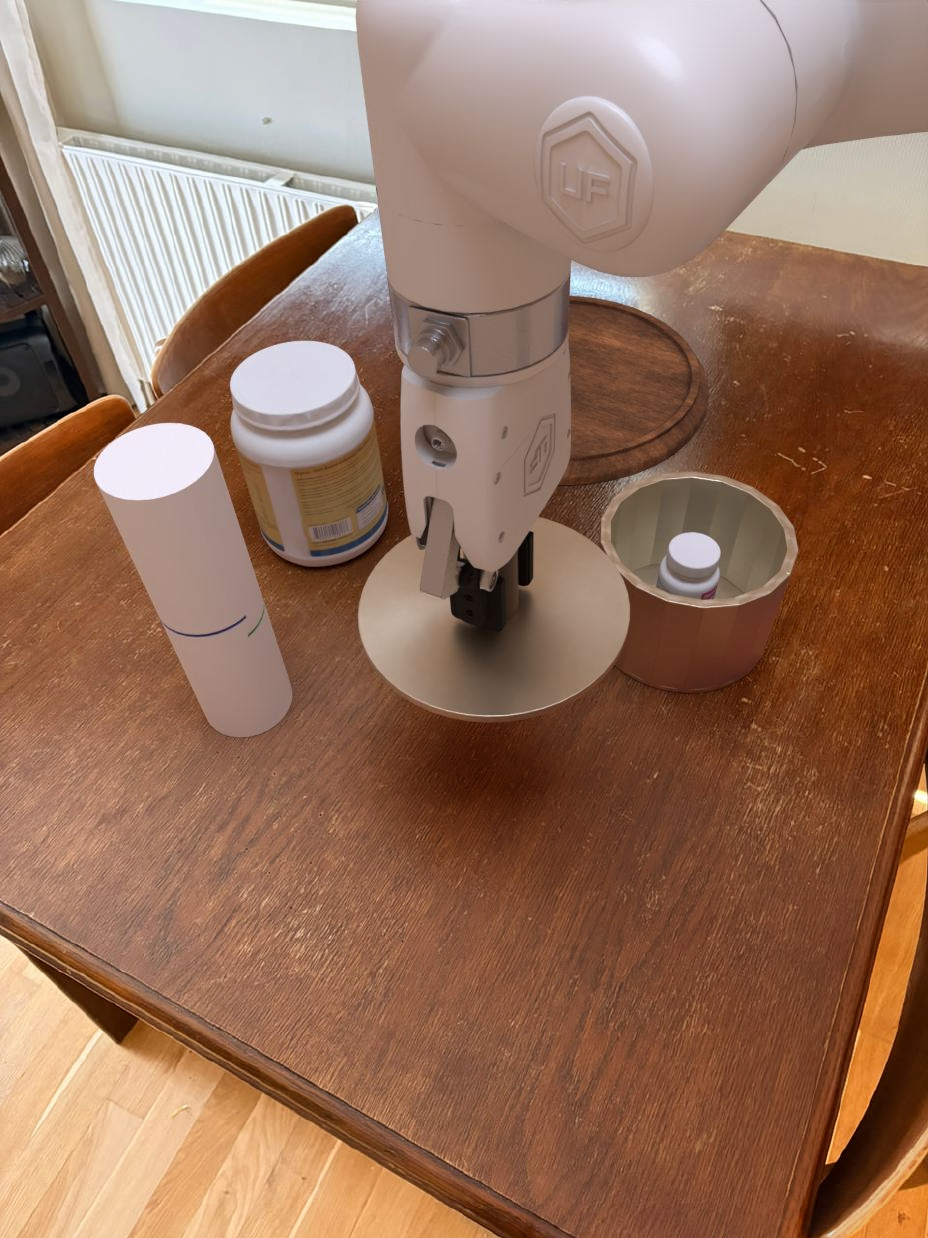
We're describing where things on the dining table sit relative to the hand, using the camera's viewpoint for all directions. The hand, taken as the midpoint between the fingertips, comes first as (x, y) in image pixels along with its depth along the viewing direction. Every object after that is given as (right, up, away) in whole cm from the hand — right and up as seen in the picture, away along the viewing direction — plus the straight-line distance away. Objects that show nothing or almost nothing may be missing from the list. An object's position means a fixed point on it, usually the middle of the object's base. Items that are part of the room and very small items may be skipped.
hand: (492, 596), depth 52 cm
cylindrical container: (-19, -8, +21) cm, 30 cm away
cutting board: (+9, +24, +47) cm, 53 cm away
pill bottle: (+17, -1, +24) cm, 29 cm away
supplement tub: (-15, +7, +34) cm, 38 cm away
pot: (+17, -2, +24) cm, 30 cm away
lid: (0, -1, +1) cm, 1 cm away
